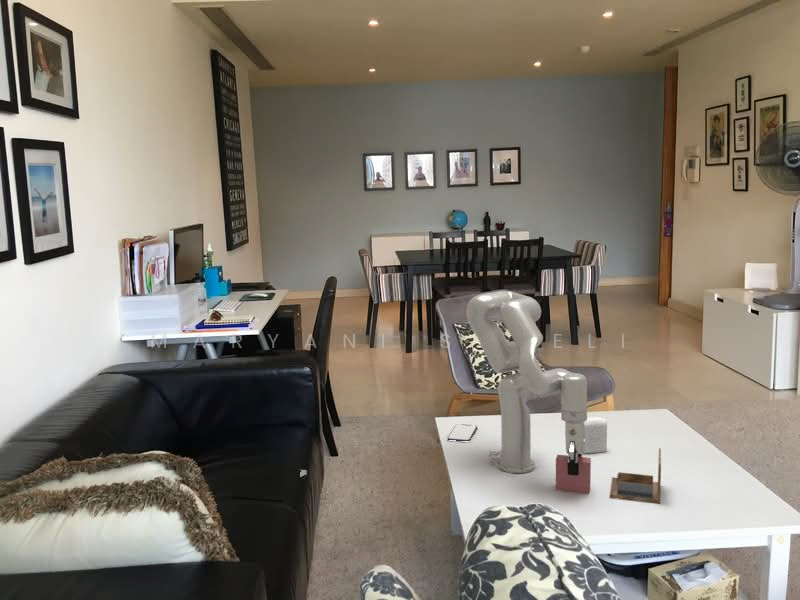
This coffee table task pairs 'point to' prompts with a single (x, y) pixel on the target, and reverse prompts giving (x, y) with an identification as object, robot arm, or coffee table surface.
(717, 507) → the coffee table surface
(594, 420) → the photo printer
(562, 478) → the book
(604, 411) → the coffee table surface
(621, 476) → the shelf
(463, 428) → the phone case
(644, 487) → the bookend
